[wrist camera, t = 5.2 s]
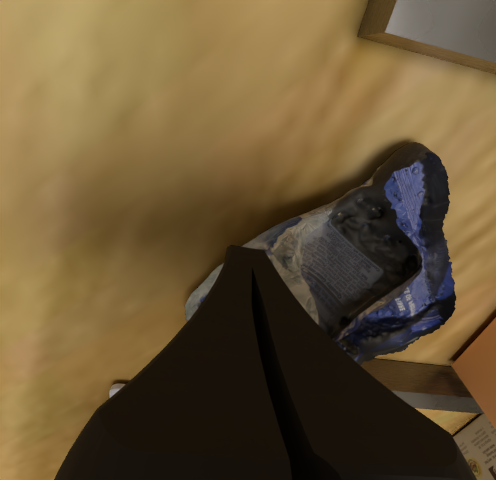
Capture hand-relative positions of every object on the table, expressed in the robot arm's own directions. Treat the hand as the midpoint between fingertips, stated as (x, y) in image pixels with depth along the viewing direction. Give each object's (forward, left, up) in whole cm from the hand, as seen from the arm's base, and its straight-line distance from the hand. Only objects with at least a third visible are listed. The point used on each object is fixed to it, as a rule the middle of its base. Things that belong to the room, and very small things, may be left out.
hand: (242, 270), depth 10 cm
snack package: (-1, -4, -3) cm, 5 cm away
